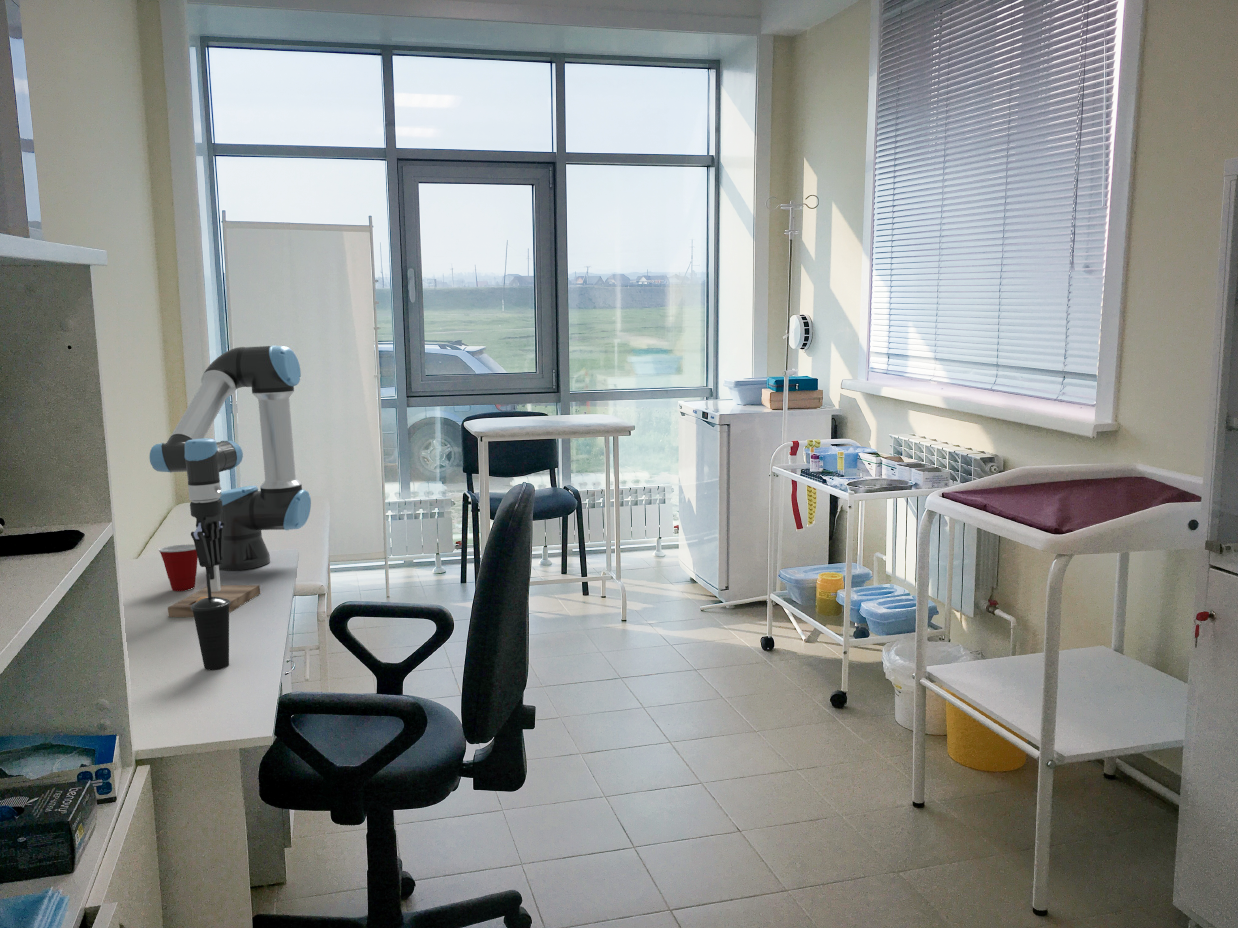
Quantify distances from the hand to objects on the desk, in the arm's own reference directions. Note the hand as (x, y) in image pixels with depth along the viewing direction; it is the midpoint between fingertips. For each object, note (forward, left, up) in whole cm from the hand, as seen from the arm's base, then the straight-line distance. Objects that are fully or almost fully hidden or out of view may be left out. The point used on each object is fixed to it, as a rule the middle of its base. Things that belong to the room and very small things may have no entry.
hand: (214, 590), depth 252 cm
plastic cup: (-16, -18, -4) cm, 24 cm away
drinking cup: (+44, +24, -4) cm, 50 cm away
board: (0, 0, -4) cm, 4 cm away
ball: (+6, 0, -2) cm, 6 cm away
